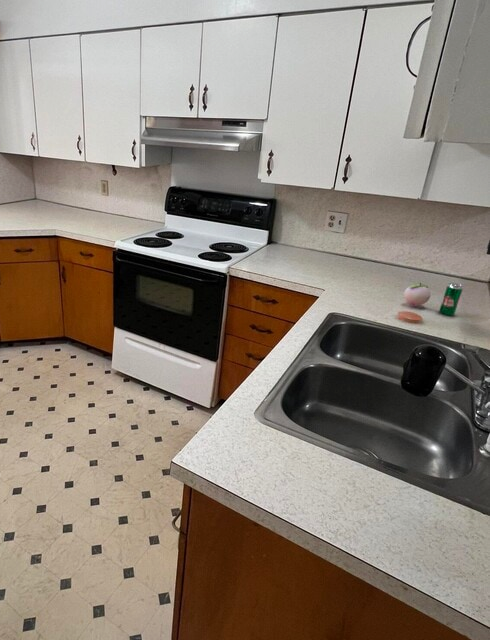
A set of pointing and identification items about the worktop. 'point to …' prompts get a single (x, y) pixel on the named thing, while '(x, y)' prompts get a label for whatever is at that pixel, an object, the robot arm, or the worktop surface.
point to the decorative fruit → (417, 294)
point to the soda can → (451, 299)
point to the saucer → (409, 317)
